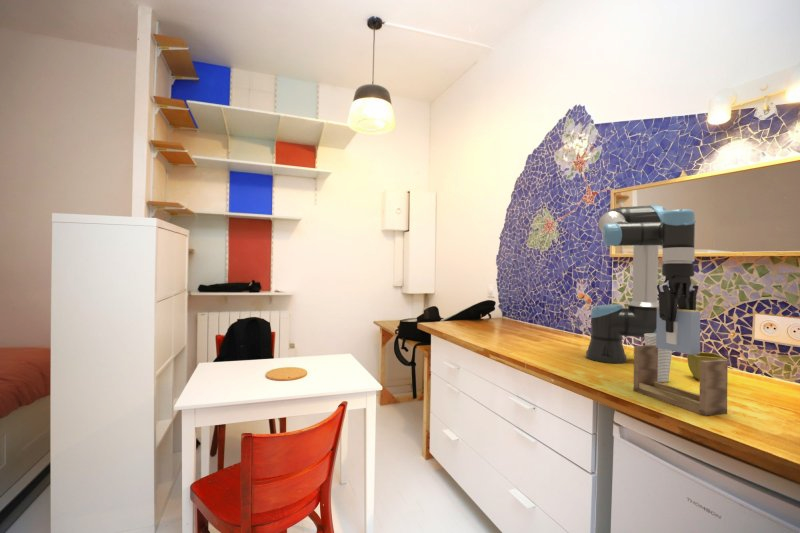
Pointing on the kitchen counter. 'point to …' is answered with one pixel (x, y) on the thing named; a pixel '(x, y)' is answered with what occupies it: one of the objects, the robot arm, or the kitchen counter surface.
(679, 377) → the kitchen counter surface
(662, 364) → the cup
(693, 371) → the flower pot
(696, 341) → the door panel
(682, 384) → the kitchen counter surface
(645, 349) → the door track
